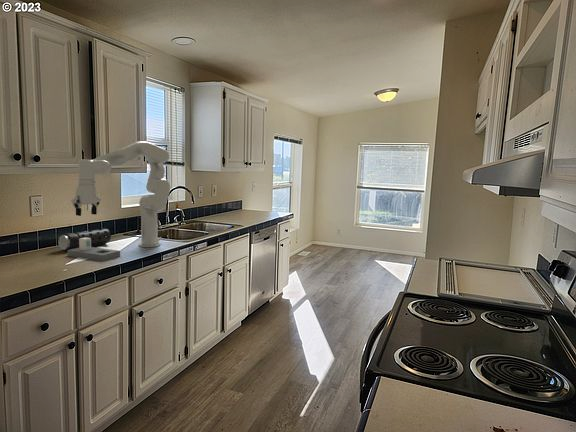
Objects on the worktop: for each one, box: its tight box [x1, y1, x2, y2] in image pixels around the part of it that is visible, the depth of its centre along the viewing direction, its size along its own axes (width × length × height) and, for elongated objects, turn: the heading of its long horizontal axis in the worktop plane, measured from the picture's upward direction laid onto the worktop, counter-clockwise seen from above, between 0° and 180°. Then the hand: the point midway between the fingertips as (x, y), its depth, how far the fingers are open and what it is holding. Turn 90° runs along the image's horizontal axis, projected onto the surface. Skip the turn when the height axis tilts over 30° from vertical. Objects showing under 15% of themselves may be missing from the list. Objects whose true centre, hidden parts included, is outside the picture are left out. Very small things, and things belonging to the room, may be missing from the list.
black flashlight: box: [57, 228, 112, 251], centre depth 226 cm, size 10×28×10 cm, turn 154°
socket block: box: [66, 246, 121, 262], centre depth 206 cm, size 12×24×4 cm, turn 70°
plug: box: [79, 237, 92, 251], centre depth 208 cm, size 4×5×9 cm
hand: (86, 214), depth 206 cm, fingers open, 9 cm apart
